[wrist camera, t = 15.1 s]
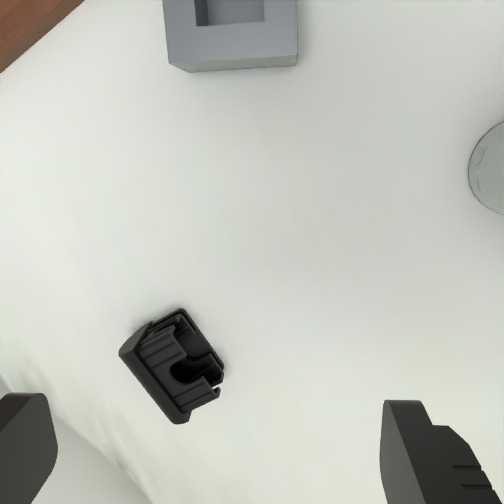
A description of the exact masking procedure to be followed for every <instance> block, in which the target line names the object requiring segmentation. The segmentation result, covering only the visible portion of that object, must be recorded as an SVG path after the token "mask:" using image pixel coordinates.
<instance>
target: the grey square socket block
mask: <svg viewBox="0 0 504 504" xmlns="http://www.w3.org/2000/svg"><path fill="white" fill-rule="evenodd" d="M162 1H163V11H164V21H165V31H166V40H167V50H168V60H169V64H172V65H174V66H176V67H178V68H180V69H182V70H184V71H187V72H202V71H218V70H234V69H250V68H266V67H282V66H295V64H296V59H297V0H162Z"/></svg>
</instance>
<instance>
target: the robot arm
mask: <svg viewBox="0 0 504 504" xmlns="http://www.w3.org/2000/svg"><path fill="white" fill-rule="evenodd" d="M469 182H470V186H471V189H472V191H473V193H474V195H475V197H476V198H477V199H478V200H479V201H480V202H481V203H482V204H483V205H485V206H486V207H487V208H489V209H491V210H493V211H496V212H498V213H500V214H502V215H504V122H502V123H500V124H498V125H497V126H495V127H494V128H492V129H491V130H490V131H489V132H488V133H487V134H486V135H485V136H484V137H483V138H482V139H481V140H480V142H479V143H478V145H477V146H476V148H475V150H474V152H473V154H472V157H471V160H470V164H469ZM57 453H58V445H57V440H56V435H55V431H54V426H53V422H52V418H51V413H50V409H49V404H48V401H47V398H46V396H45V395H44V394H42V393H8V394H6V395H5V396H4V397H3V398H2V399H1V400H0V504H31V503H32V501H33V500H34V498H35V497H36V495H37V494H38V492H39V491H40V489H41V487H42V486H43V484H44V483H45V481H46V480H47V478H48V477H49V475H50V474H51V472H52V470H53V468H54V465H55V462H56V459H57ZM380 472H381V479H382V484H383V488H384V492H385V495H386V499H387V503H388V504H502V503H501V501H500V499H499V497H498V496H497V494H496V492H495V490H492V485H491V483H490V481H489V480H488V478H487V476H486V474H485V472H484V471H482V470H481V465H480V464H479V462H478V460H477V458H476V456H475V455H474V453H473V451H472V449H471V448H470V446H469V444H468V443H467V442H466V441H465V440H463V439H462V438H461V437H460V436H459V435H458V434H457V433H456V432H455V431H454V430H452V429H451V428H450V427H449V426H438V425H432V422H431V420H430V418H429V416H428V414H427V412H426V410H425V408H424V406H423V404H422V403H421V401H419V400H385V401H384V404H383V414H382V428H381V441H380Z"/></svg>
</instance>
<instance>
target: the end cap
mask: <svg viewBox="0 0 504 504" xmlns="http://www.w3.org/2000/svg"><path fill="white" fill-rule="evenodd" d="M119 357H120V358H121V359H122V360H123V362H124V363H125V364H126V365H127V367H128V368H129V369H130V371H131V372H132V373H133V374H134V376H135V377H136V378H137V379H138V381H139V382H140V383H141V384H142V386H143V387H144V388H145V390H146V391H147V392H148V393H149V395H150V396H151V397H152V398H153V400H154V401H155V402H156V403H157V405H158V406H159V407H160V409H161V410H162V411H163V412H164V414H165V415H166V416H167V417H168V419H169V420H170V421H171V422H172V423H173V424H183V423H186V422H188V421H189V418H190V415H191V412H192V410H194V409H196V408H198V407H200V406H202V405H204V404H206V403H208V402H210V401H212V400H214V399H216V398H218V397H219V395H220V390H221V389H220V388H219V387H217V388H215V389H212V387H214V386H216V385H218V384H220V383H222V382H223V377H224V373H223V368H224V364H223V362H222V361H221V360H220V358H219V357H218V355H217V354H216V353H215V351H214V350H213V348H212V347H211V346H210V344H209V343H208V341H207V340H206V339H205V337H204V336H203V335H202V333H201V332H200V330H199V329H198V328H197V326H196V325H195V323H194V322H193V321H192V319H191V318H190V316H189V315H188V314H187V312H186V311H185V310H184V309H178V310H176V311H175V312H173V313H171V314H169V315H167V316H166V317H164V318H162V319H160V320H158V321H157V322H155V323H153V324H152V323H149V324H147V325H145V326H144V327H142V328H141V329H140V330H138V331H137V332H136V333H134V334H133V335H132V336H131V337H130V338H129V339H128V340H127V341H126V342H125V343H124V344H123V345H122V347H121V348H120V350H119Z"/></svg>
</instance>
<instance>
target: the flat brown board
mask: <svg viewBox="0 0 504 504" xmlns="http://www.w3.org/2000/svg"><path fill="white" fill-rule="evenodd" d="M83 1H84V0H0V73H1V72H3V71H4V70H5V69H6V68H7V67H8V66H10V65H11V64H12V63H13V62H14V61H15V60H16V59H18V58H19V57H20V56H21V55H22V54H23V53H24V52H26V51H27V50H28V49H29V48H30V47H31V46H33V45H34V44H35V43H36V42H37V41H38V40H39V39H41V38H42V37H43V36H44V35H45V34H46V33H48V32H49V31H50V30H51V29H52V28H53V27H54V26H56V25H57V24H58V23H59V22H60V21H61V20H63V19H64V18H65V17H66V16H67V15H68V14H69V13H71V12H72V11H73V10H74V9H75V8H76V7H77V6H79V5H80V4H81V3H82V2H83Z"/></svg>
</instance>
